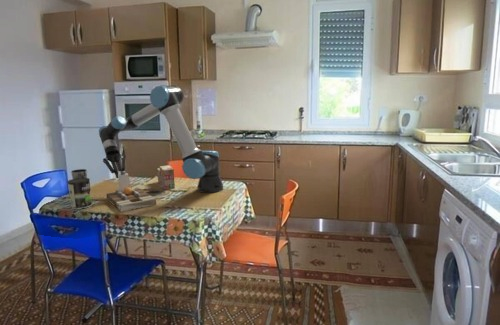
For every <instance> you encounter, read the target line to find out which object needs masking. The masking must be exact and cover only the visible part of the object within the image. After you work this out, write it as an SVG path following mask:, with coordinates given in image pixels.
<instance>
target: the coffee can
mask: <svg viewBox="0 0 500 325" xmlns="http://www.w3.org/2000/svg"><path fill="white" fill-rule="evenodd" d="M67 184H68V191H69V199H70V206H71V209H72V210H83V209H82V208H84V209H87V207H88V208H90V207H92V206H93V201H92V191H91V185H90V184H91V183H90V178H88V177H87V178H77V179H73V178H72V179H69V180H68V181H67Z"/></svg>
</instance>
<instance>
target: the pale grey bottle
mask: <svg viewBox="0 0 500 325" xmlns="http://www.w3.org/2000/svg"><path fill="white" fill-rule="evenodd" d="M120 173H121V174H118V178H117V180H118V190H119V191H120V192H122V193H124V189H125V188H127V187H129V188H131V184H130V177H129V173H127V172H126V170H125V171H121V172H120Z"/></svg>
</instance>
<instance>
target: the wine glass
mask: <svg viewBox="0 0 500 325" xmlns="http://www.w3.org/2000/svg"><path fill="white" fill-rule="evenodd" d="M70 173H71V178H72V179H77V178H88V171H87V169H86V168H79V169H74V170H71V172H70Z"/></svg>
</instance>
